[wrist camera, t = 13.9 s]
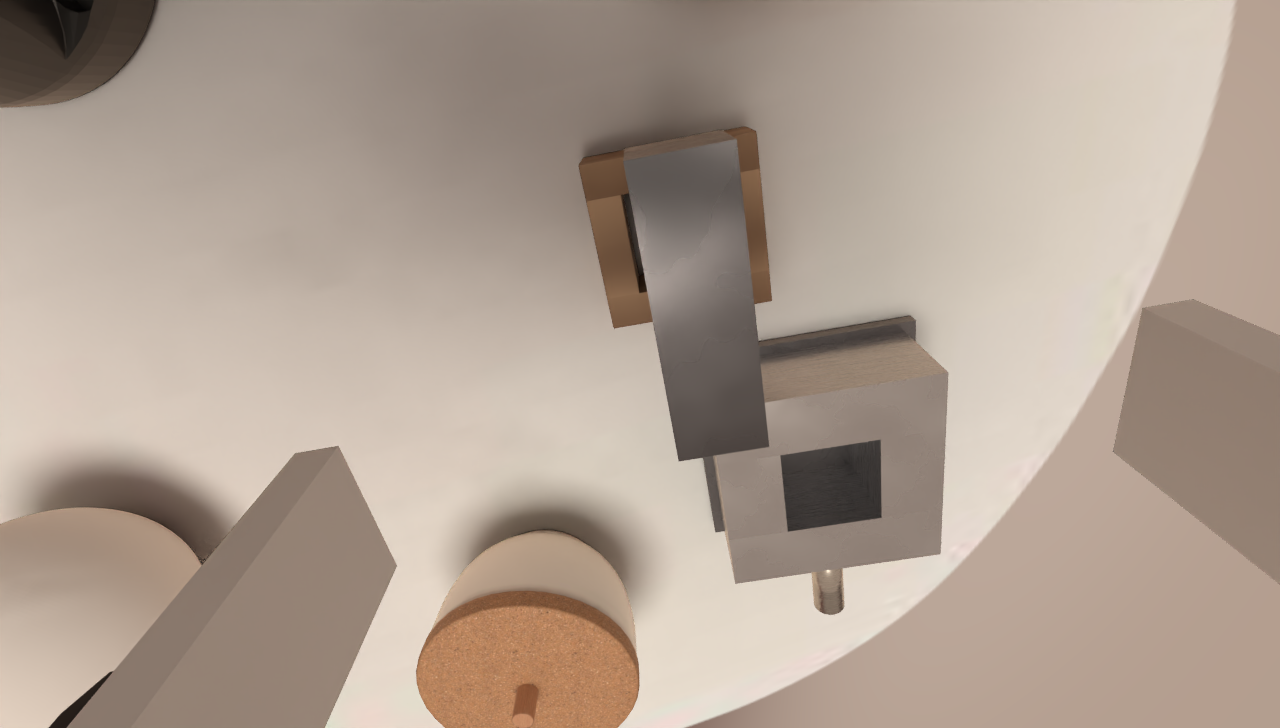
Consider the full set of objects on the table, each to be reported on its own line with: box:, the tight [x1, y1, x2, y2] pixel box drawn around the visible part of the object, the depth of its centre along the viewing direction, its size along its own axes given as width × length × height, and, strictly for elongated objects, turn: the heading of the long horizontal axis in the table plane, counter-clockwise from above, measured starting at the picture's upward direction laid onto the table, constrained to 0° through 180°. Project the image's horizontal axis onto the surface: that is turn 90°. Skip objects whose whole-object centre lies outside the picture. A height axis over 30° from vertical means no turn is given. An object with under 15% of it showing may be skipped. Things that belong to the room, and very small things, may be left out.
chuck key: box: [623, 130, 769, 461], centre depth 22 cm, size 9×3×12 cm, turn 10°
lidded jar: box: [416, 530, 639, 728], centre depth 32 cm, size 11×11×9 cm
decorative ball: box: [0, 507, 202, 728], centre depth 30 cm, size 12×12×12 cm
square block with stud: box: [703, 316, 948, 615], centre depth 31 cm, size 15×11×5 cm
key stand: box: [579, 127, 772, 328], centre depth 26 cm, size 7×7×2 cm
